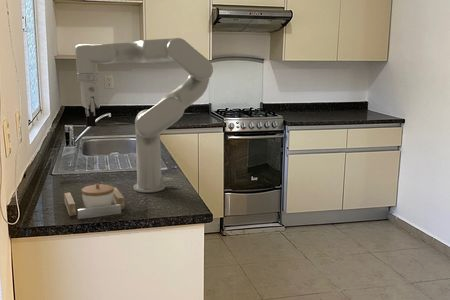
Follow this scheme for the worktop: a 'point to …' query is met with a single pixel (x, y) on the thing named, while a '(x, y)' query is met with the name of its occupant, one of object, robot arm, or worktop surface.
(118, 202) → the bar
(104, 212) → the rail
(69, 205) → the rail far
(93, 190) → the lidded jar
